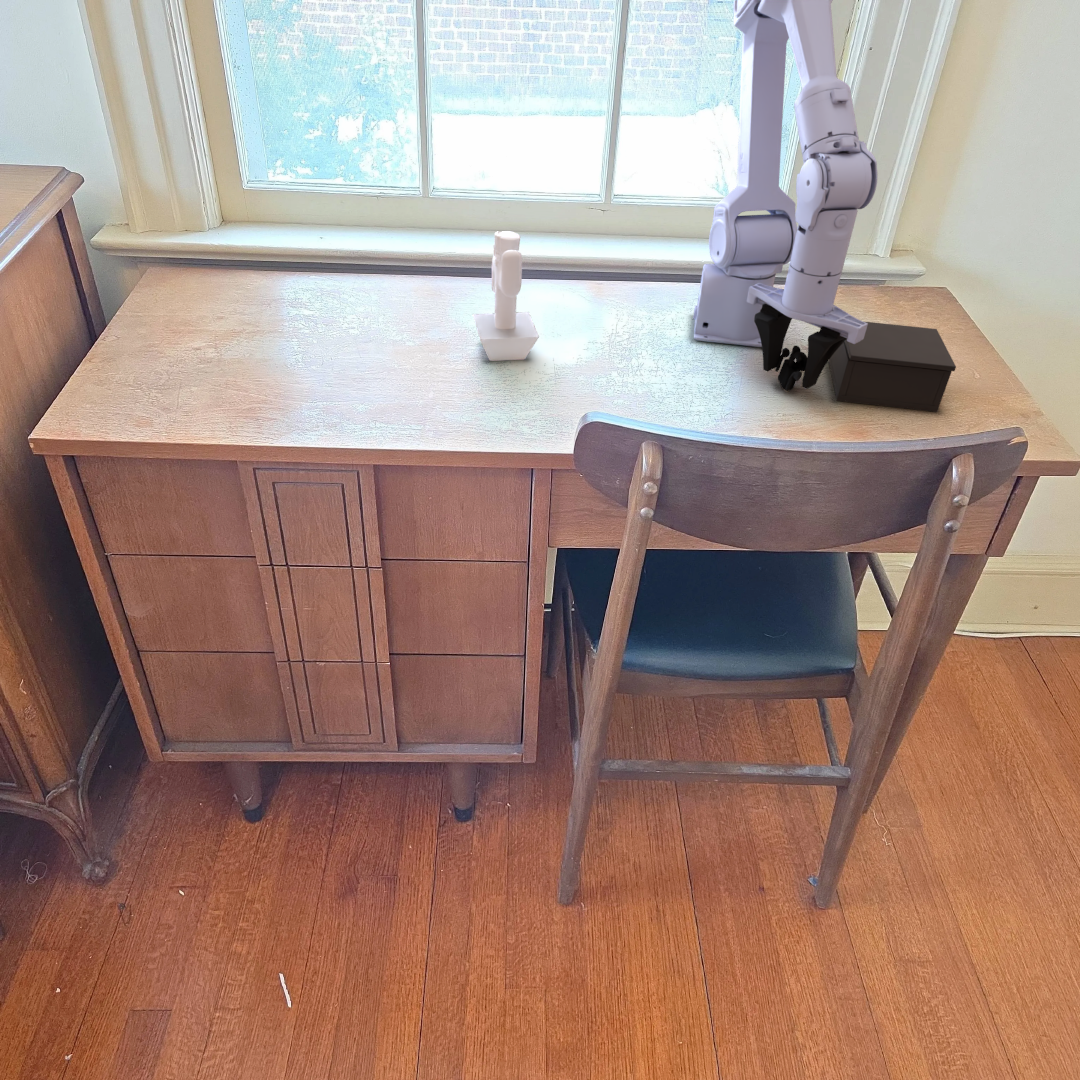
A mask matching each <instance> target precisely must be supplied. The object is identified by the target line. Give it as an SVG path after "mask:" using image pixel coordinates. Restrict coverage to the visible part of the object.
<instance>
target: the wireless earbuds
mask: <svg viewBox="0 0 1080 1080" xmlns="http://www.w3.org/2000/svg"><path fill="white" fill-rule="evenodd" d="M784 358H785V359H784ZM807 358H808V355H807V354H806V353H805V352H803V351H801V347H800V346H799V345H797V344H796V345H793V347H792V351H790V349H789V348H787V347H784V348H782V352H781V356H780V358H779V361H778V364H777V367H776V368H774V372H776V373H778V375H777V380H778V383H779V385H780V386H781V388H782V390H784V391H785V392H787V393H789V391H791V390H793V389H794V387H795V385H796V383H797V382H799V381H800V380H801V378H802V377H803V372H805V368H806V364H807Z"/></svg>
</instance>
